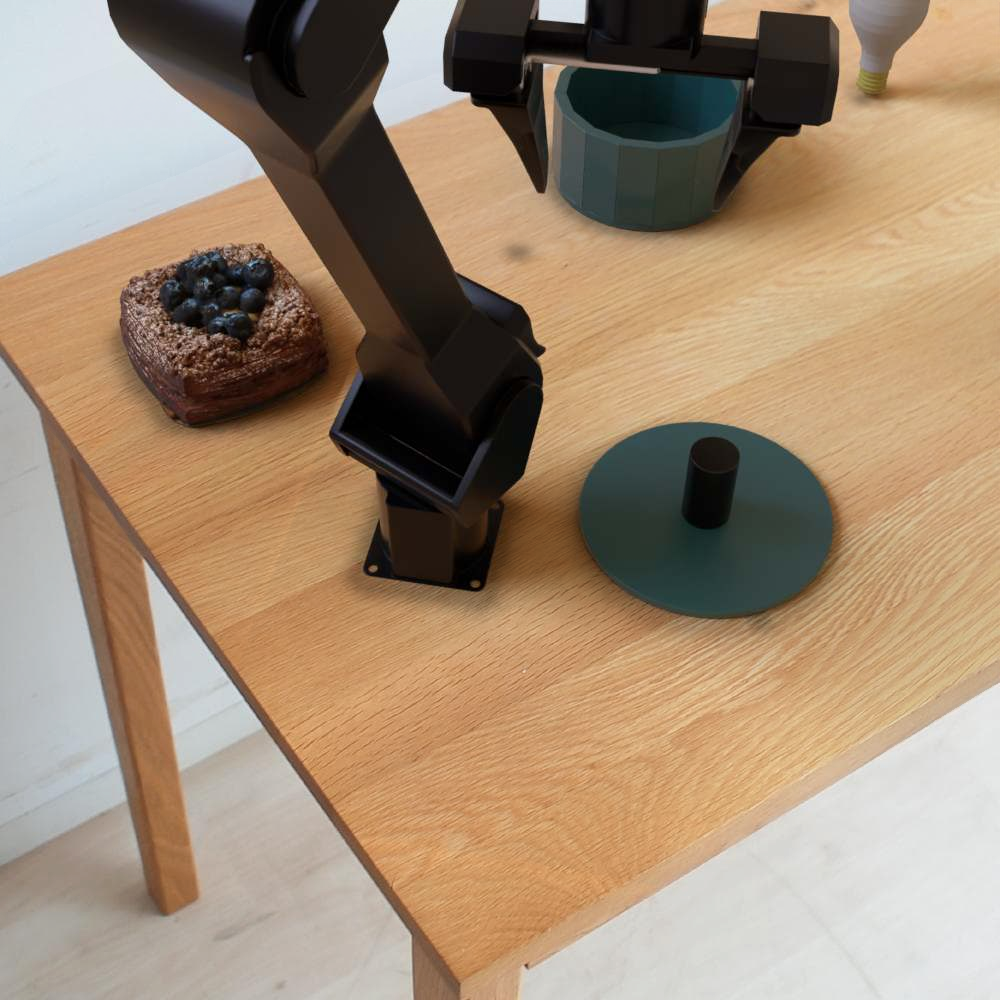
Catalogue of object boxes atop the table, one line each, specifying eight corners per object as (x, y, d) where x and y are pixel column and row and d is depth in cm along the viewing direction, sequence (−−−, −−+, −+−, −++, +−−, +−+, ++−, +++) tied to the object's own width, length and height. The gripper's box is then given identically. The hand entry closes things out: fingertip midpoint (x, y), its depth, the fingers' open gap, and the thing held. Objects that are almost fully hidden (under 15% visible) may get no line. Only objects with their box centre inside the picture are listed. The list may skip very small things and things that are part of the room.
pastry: (181, 445, 82) (163, 370, 78) (103, 326, 89) (82, 250, 85) (352, 375, 86) (344, 299, 82) (265, 265, 93) (253, 190, 88)
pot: (728, 241, 95) (741, 158, 90) (538, 219, 96) (540, 136, 91) (743, 132, 103) (755, 50, 98) (568, 113, 104) (571, 31, 99)
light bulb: (817, 83, 107) (841, -45, 99) (878, 66, 108) (906, -62, 101) (859, 121, 104) (887, -8, 96) (922, 103, 105) (954, -26, 98)
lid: (825, 644, 73) (844, 575, 69) (559, 604, 75) (563, 534, 71) (834, 452, 82) (852, 380, 78) (597, 420, 84) (602, 348, 79)
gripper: (862, -151, 69) (808, 129, 81) (479, -180, 71) (479, 98, 83) (865, -39, 62) (805, 252, 73) (437, -75, 64) (444, 214, 75)
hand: (628, 197), depth 76 cm, fingers open, 9 cm apart
